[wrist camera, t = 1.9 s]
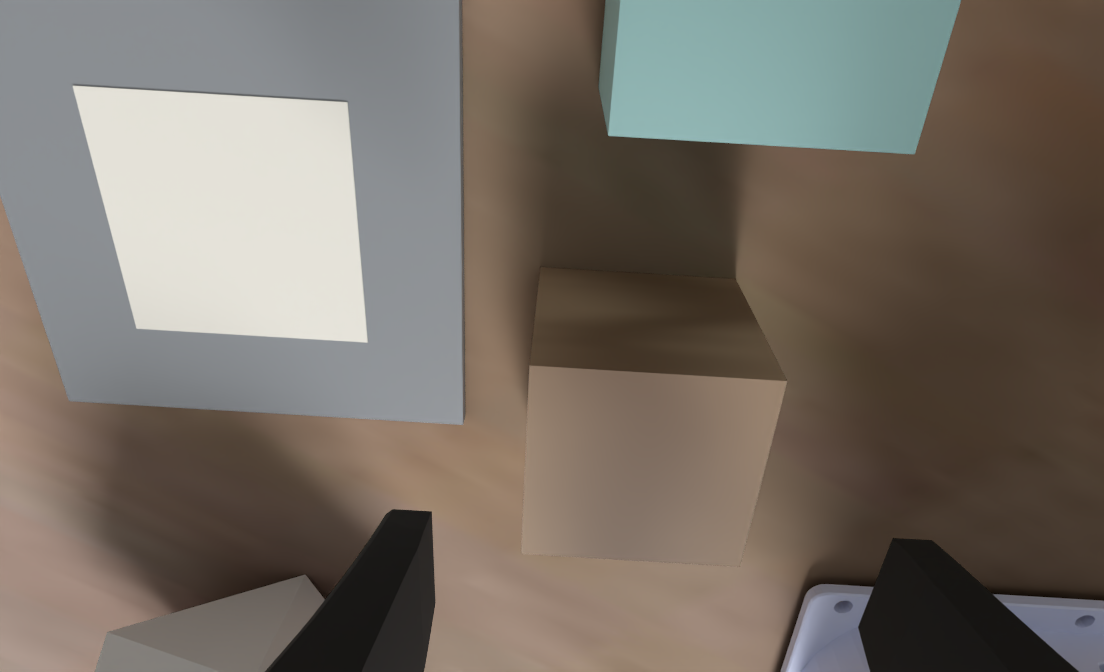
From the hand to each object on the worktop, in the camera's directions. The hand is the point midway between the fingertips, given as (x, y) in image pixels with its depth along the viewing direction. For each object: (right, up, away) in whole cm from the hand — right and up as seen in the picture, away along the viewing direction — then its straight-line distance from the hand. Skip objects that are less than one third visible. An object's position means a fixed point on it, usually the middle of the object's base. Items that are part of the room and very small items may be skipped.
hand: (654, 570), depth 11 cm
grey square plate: (-9, +6, +4) cm, 12 cm away
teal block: (+2, +11, +2) cm, 11 cm away
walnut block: (0, +3, +6) cm, 7 cm away
